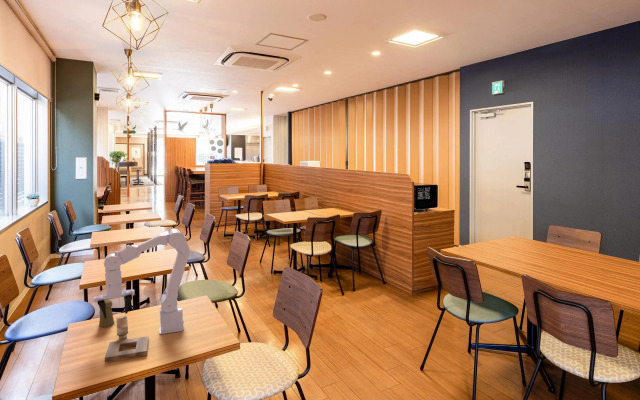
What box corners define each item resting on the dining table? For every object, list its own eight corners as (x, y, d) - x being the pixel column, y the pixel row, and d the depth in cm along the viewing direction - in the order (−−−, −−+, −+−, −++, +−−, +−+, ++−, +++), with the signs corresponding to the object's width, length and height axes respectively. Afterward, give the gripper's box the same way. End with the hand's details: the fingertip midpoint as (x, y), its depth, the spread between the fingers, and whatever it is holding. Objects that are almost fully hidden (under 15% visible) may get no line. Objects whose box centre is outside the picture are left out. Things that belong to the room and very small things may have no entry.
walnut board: (148, 340, 152) (148, 336, 152) (147, 355, 141) (146, 350, 141) (109, 346, 147) (109, 342, 146) (105, 362, 136) (104, 357, 135)
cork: (107, 328, 162) (106, 304, 160) (95, 326, 163) (94, 302, 162) (117, 322, 168) (116, 299, 166) (106, 320, 169) (104, 297, 167)
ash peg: (128, 334, 156) (128, 314, 155) (127, 339, 153) (126, 318, 151) (117, 336, 155) (116, 316, 154) (116, 341, 151) (115, 320, 150)
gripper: (131, 277, 158) (133, 307, 160) (91, 284, 149) (94, 316, 151) (135, 281, 152) (136, 313, 154) (94, 289, 143) (96, 322, 145)
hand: (115, 315), depth 152 cm, fingers open, 7 cm apart
